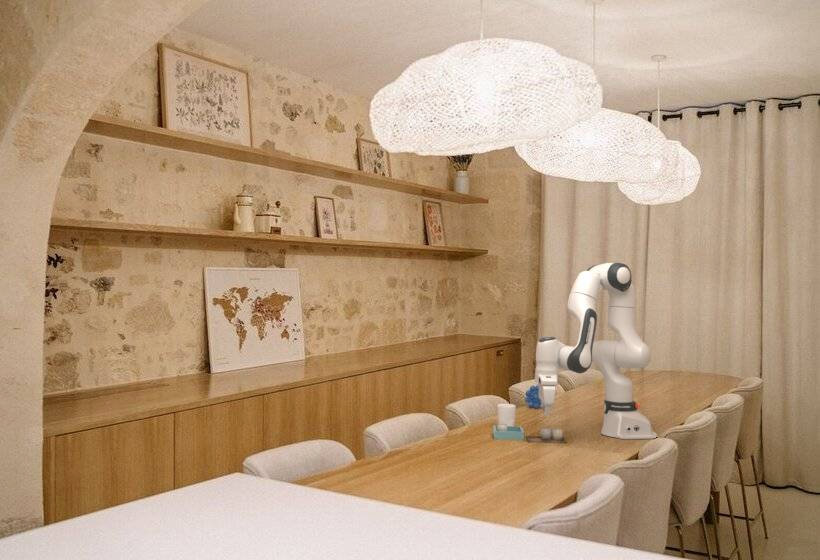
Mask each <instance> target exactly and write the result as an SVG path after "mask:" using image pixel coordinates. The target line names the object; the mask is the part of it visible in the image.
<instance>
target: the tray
mask: <svg viewBox="0 0 820 560" xmlns="http://www.w3.org/2000/svg"><path fill="white" fill-rule="evenodd" d="M525 439H526V440H527V443H545V444H547V443H548V444H568V440H567V439H566V438H565V437H564V436H562V441H552V435H551V441H548V440H541V435H525Z"/></svg>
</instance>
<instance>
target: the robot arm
mask: <svg viewBox="0 0 820 560" xmlns="http://www.w3.org/2000/svg"><path fill="white" fill-rule="evenodd" d="M632 282H633V280H632V271H631V269H630V268H629V266H628V265H627V264H625V263H622V262H605V263H601V264H593V265H591V266H590V267H588V268H587V269H586V270H584V271H583V270H582V271H581V272H579V274H577V277H576V279H575V281H574V283H573V285H572V287H571V290H570V292H569V297H568V299H567V309H568V312H569V314H571V316H573V317H574V318H576V319H577V321H579V324H580V326H579V331H578V332H579V333H578V339H577V342H576V343H577V344H576V345H575V346H571V345H566V344H564V343H562V342H561V341H559V340H558V337H554V336H544V337H541V338H540V339H538V340H537V343H536V347H535V362H536V366H535V372H534V374H535V375H534V376H535V377H534V382H535V383H537V385H538V386H539V398H540V400H541V405H540V407H541V411H542V412H543V413H544V416H550V411H551V406H554V403H555V399H556V386H558V381H559V369H560V370H564V371H569V372H574V373H577V374H583V373H586V372H587V371H588V370H589V369H590V368H591V366H592V363H593V364H594V365H596V367H597V368H598V369H599V370H600V372H601V374H602V376H603V377H602V378H603V380H604V388H605V389H604V390H605V392H604V393H605V394H604V397H605V399H604V400H603V413H604V414H603V415H604V416H603V422H602V428H601V431H600V434H602V435H603V436H606V437H612V438H617V439H621V440H637V439H639V440H642V439H644V440H645V439H647V440H649V439H650V440H652V439H653V440H654V438H655V439H657V438H658V434H657V432H655V431H653V429H652V424H651V421H650V420H649V419H648V418H647V417H646V416H645V415H644V414H642V413H641V412H640V411H639V410H638V409H640V408H641V407H642V405H641V404H640V403H637V402H636V401H634V400H633V399H634V398H633V396H634V384H633V382H632V380H631V379H630V378H629V377H628V376H626V375H624V374H623V373H622V370H621V368H625V369H642V368H643V369H644V368H646V367H647V366H648V365H650V362H651V360H652V351H651V349H650V347H649V346H648V345H647V344H646V343H645V342H644V341H643V339H642V338H641V337H640V335H639V333H638V330H637V325H636V324H637V323H636V314H637V313H636V312H637V311H636V309H637V298H636V289H635V285H633V284H632ZM601 290H602V291H607V292H608V296H609V298H608V307H607V309H608V310H607V325H608V328H609V329H610V330H612V331H614V332H615V333H617V335H618V336H619V340H612V339H602V340H595V336H596V335H595V334H596V331H597V322H598V315H597V312H596V306H597V302H598V297H599V294H600V292H601ZM594 340H595V341H594ZM656 437H657V438H656Z"/></svg>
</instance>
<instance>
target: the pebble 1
mask: <svg viewBox="0 0 820 560" xmlns="http://www.w3.org/2000/svg"><path fill="white" fill-rule="evenodd" d="M496 426H497V431H507V425H506V424H498V423H497V424H496Z"/></svg>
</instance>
